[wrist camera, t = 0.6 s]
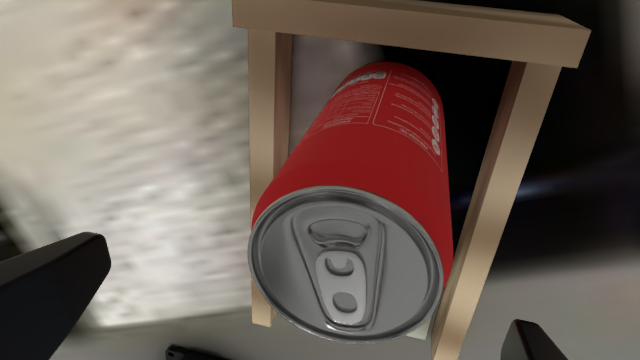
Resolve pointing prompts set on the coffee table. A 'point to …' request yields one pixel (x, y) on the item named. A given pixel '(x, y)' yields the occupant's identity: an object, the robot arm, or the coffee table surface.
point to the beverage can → (360, 213)
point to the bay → (427, 34)
